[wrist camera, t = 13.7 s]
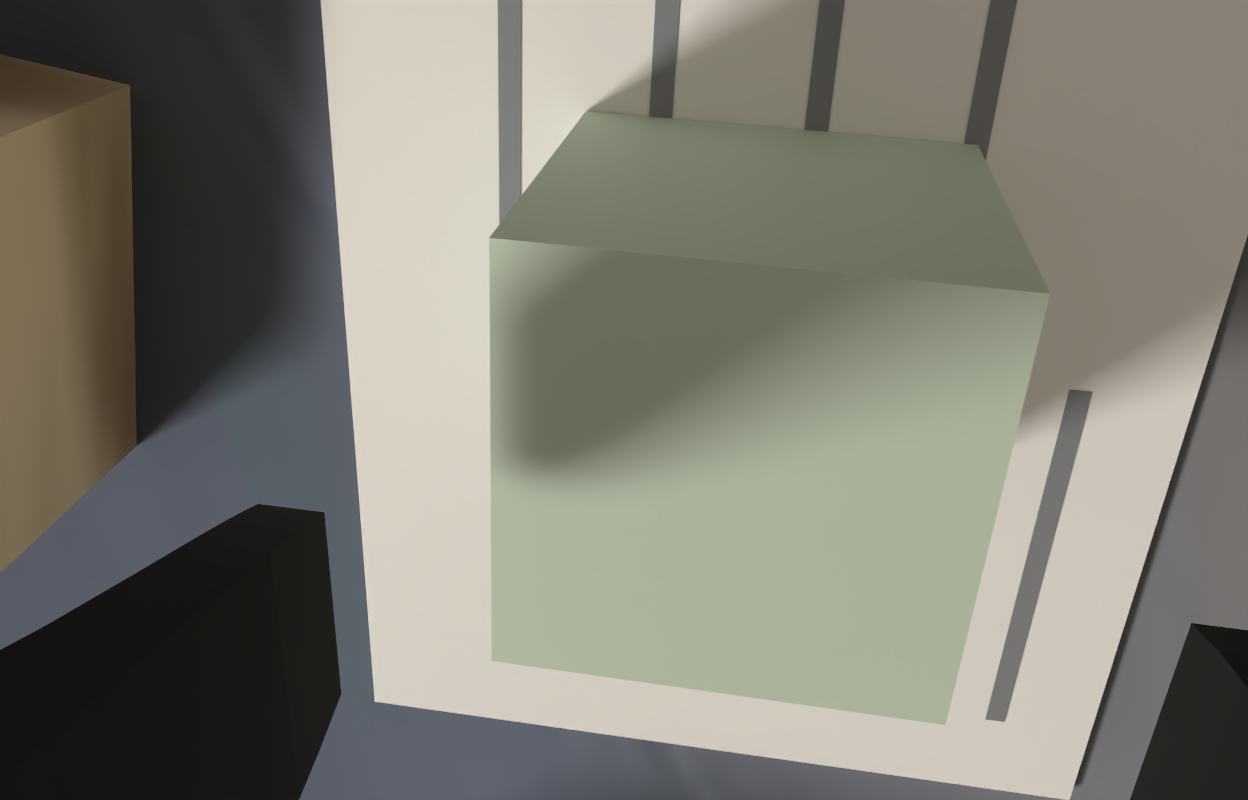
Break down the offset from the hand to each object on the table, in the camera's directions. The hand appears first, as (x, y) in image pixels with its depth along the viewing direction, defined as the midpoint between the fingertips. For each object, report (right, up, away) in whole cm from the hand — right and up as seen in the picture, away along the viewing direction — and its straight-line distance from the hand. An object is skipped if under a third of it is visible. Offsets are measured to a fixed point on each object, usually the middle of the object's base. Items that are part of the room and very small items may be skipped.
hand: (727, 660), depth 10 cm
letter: (+1, +3, +6) cm, 7 cm away
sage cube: (+1, +3, +6) cm, 7 cm away
